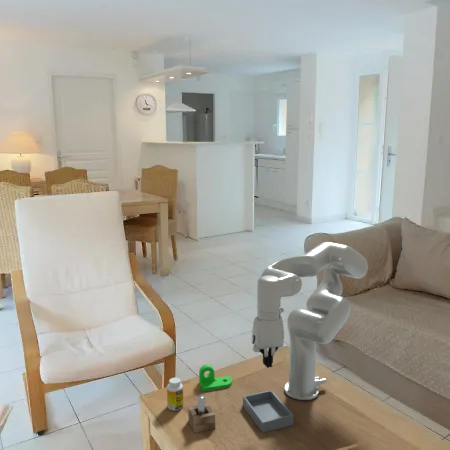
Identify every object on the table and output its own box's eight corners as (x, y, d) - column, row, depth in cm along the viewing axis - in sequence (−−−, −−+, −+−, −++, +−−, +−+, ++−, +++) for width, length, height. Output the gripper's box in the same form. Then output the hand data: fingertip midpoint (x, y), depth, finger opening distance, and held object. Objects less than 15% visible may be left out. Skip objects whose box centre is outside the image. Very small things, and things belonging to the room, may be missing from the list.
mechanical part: (202, 393, 171) (202, 373, 169) (199, 384, 177) (199, 365, 175) (233, 388, 174) (233, 368, 173) (229, 380, 180) (229, 361, 178)
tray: (271, 399, 166) (271, 390, 166) (293, 425, 152) (293, 415, 151) (242, 405, 163) (242, 396, 162) (262, 432, 148) (262, 422, 147)
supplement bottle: (176, 413, 158) (175, 386, 156) (164, 408, 161) (163, 381, 159) (186, 405, 163) (186, 379, 161) (174, 400, 166) (173, 374, 164)
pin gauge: (204, 421, 154) (203, 394, 152) (206, 425, 151) (206, 398, 149) (197, 423, 153) (196, 396, 151) (199, 427, 150) (199, 399, 149)
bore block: (208, 416, 156) (208, 403, 155) (215, 428, 150) (215, 414, 149) (188, 420, 154) (188, 407, 153) (194, 433, 148) (194, 419, 147)
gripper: (283, 306, 156) (282, 356, 160) (243, 312, 151) (242, 364, 154) (294, 314, 149) (293, 366, 153) (252, 321, 144) (251, 375, 147)
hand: (267, 365), depth 153 cm, fingers closed
